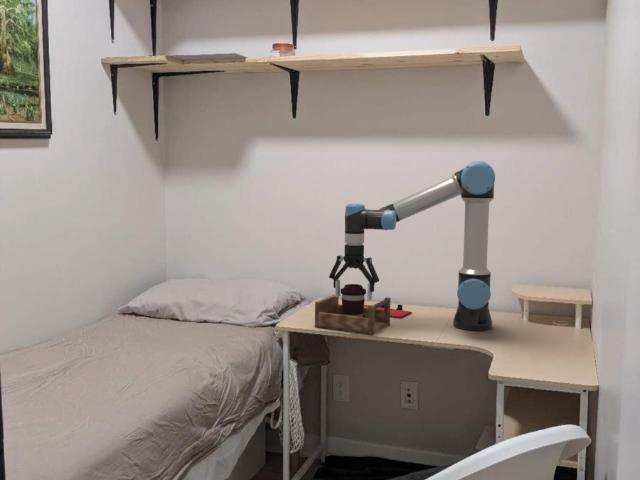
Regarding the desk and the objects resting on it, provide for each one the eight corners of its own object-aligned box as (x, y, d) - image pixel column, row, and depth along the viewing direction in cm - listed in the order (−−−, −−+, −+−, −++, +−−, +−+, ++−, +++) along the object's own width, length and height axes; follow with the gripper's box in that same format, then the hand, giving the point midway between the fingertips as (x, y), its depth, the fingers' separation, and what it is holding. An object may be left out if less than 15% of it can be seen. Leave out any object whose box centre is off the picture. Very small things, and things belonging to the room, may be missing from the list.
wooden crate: (389, 325, 274) (390, 297, 273) (372, 335, 258) (372, 306, 257) (334, 318, 285) (335, 291, 284) (314, 327, 269) (315, 299, 268)
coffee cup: (364, 326, 266) (365, 288, 264) (339, 325, 267) (339, 287, 265) (365, 320, 276) (366, 283, 274) (340, 319, 277) (341, 282, 275)
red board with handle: (353, 304, 314) (337, 310, 301) (353, 297, 313) (337, 304, 300) (415, 313, 298) (400, 320, 286) (415, 306, 298) (401, 314, 285)
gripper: (388, 245, 265) (387, 299, 268) (329, 241, 277) (328, 293, 279) (380, 247, 259) (379, 303, 261) (321, 243, 270) (320, 296, 273)
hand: (353, 298), depth 270 cm, fingers open, 13 cm apart
